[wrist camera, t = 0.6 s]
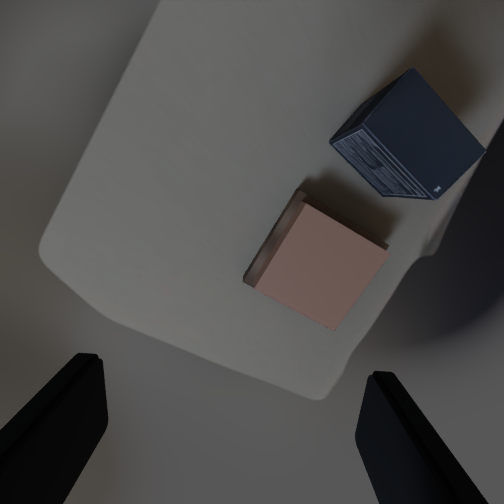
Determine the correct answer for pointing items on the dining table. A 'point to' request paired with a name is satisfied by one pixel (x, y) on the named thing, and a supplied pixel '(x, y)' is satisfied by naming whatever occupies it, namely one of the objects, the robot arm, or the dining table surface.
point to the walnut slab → (285, 219)
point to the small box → (407, 141)
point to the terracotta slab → (319, 267)
